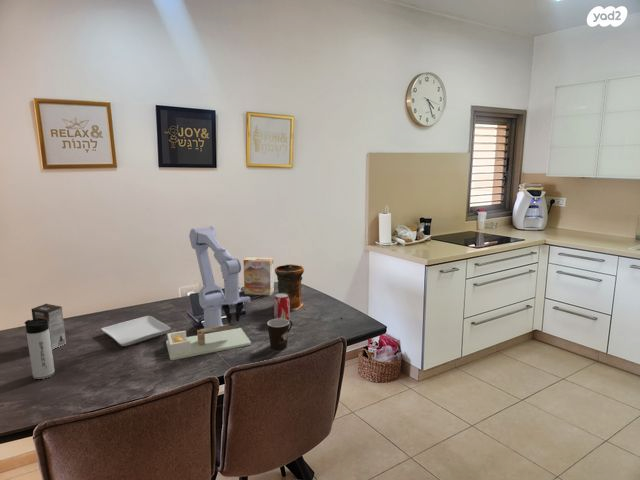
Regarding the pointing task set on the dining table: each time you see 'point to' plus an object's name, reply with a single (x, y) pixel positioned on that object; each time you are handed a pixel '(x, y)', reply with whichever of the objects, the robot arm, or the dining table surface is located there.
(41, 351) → the travel mug
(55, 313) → the coffee box
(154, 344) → the dining table surface
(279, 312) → the soda can
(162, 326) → the salad plate
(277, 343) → the coffee mug
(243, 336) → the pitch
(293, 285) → the vessel
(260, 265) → the coffeecake box
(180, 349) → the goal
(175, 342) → the ball
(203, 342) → the striker rod
